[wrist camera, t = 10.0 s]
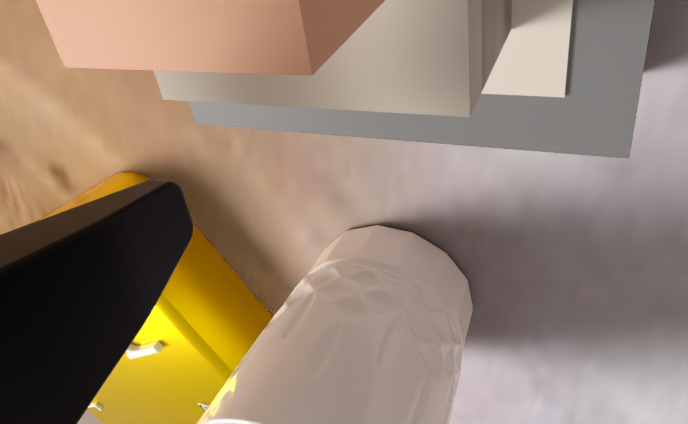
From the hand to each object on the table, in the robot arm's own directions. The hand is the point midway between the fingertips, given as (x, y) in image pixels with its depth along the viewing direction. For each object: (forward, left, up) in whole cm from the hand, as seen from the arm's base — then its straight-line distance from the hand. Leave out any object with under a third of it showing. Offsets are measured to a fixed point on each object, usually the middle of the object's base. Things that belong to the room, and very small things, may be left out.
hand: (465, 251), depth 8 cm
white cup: (+6, +13, -12) cm, 19 cm away
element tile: (+21, +18, -12) cm, 30 cm away
